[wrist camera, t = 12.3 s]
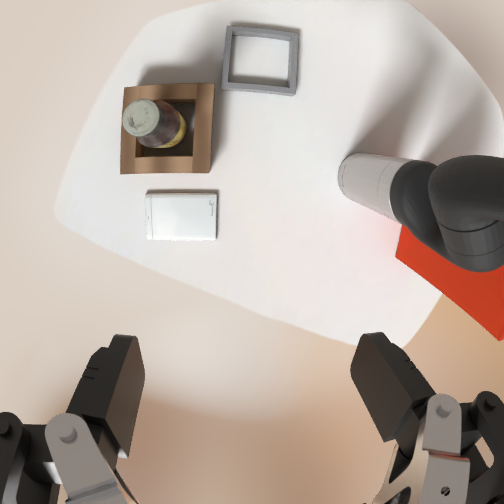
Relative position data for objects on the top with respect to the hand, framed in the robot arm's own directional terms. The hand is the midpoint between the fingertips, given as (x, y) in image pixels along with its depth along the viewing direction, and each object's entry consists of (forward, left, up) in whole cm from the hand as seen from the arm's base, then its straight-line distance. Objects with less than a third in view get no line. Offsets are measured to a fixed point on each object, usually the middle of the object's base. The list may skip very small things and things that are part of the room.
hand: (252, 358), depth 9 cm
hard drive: (+8, +5, -41) cm, 42 cm away
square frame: (-4, -23, -40) cm, 46 cm away
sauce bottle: (+10, -10, -40) cm, 43 cm away
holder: (+10, -10, -40) cm, 42 cm away
